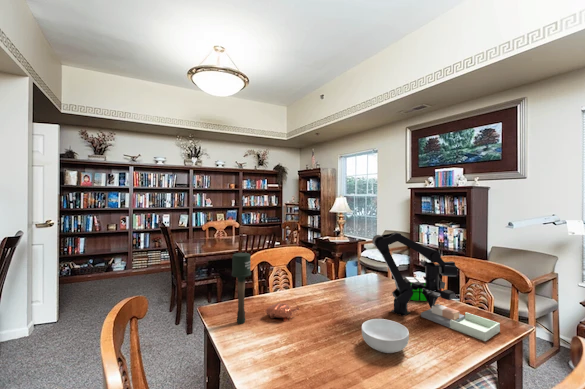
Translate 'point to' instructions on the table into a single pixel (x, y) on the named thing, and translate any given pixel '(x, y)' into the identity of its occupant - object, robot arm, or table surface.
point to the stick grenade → (241, 280)
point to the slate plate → (439, 318)
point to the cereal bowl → (385, 335)
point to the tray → (476, 326)
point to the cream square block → (438, 309)
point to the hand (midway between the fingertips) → (431, 308)
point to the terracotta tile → (450, 313)
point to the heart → (280, 311)
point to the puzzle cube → (417, 293)
